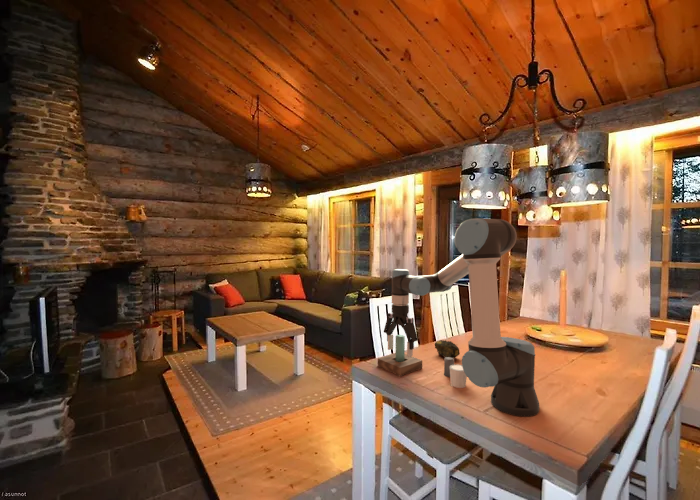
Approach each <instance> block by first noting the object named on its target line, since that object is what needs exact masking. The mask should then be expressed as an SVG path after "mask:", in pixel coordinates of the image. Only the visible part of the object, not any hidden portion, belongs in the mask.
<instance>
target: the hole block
mask: <svg viewBox="0 0 700 500" xmlns="http://www.w3.org/2000/svg"><path fill="white" fill-rule="evenodd" d="M395 355H396V352H395V353H391V354H389V355H385V356H380V357H378V358H377V367H379V368H381V369H383V370H385V371H388V372H390V373H393V374H394V375H397V376H399V377H401V376H404V375H407V374H410V373H412V372H415V371H418V370H422V369H423V359H419V358H417V357H414V356H410V357H407V353H405V359H404V361H403V362H397V361H395Z"/></svg>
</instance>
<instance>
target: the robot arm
mask: <svg viewBox="0 0 700 500" xmlns="http://www.w3.org/2000/svg"><path fill="white" fill-rule="evenodd" d="M516 231H517V230H516V229H515V227H514V225H512V223H511V222H509V221H507V220H505V219H503V218H502V219H501V218H481V217H480V218H479V217H478V218H477V217H476V218H469V219H466V220H464V221H462V222H461V223H460V224H459V226H458V227H457V229H456V231H455V233H454V238H453V239H454V246H455V248H456V249H457V251H458V252H459V253H460V254H461V255H459V256H458V257H456V258H455V259H454V260H453V261H451V262H450V263H449V264H447V265H446V266H445V267H443V268H441V270H439V271H438V272H436V273H434V274H428V275H426V274H425V275H411V274H410V271H409V269H406V268H396V269H393V270H392V272H391V303H392V304H391V312H389V313H387V314H386V315H387V317H386V321H385V325H384V328H383V333H385V334H386V341H387V350H393V349H394V333H393V332H394V330H395V329H396V327H398V326H400V327H401V329H403V331H404V333H405V335H406V336H405V337H406V338H407V340H408V341H407V342H406V343H407V344H406V347H407V348H406V355H407V357H410V356H412V357H414V355H413V354H414V351H413V350H414V349H415V348H414V347H415V345H414V344H415V342H417V341H418V335H417V331H416V327H415V323H414V319H415V318H414V317H409V316H408V315H409V309H410V308H409V307H410V305H409V303H410V296H409V295H410V294H411V295H415V296H423V297H424V296H425V295H427V294H430V293H431V294H432V293H444V292H447V291H450V290H451V289H452V287H453V284H455V283H457V282H458V281H460V280H462V279H463V278H464V277H466V276H467V275H468V281H469V298H470V299H469V301H470V316H471V330H472V331H471V332H472V337H471V338H470V339H469V341H468V342H467V346H468V350H467V351H466V352H465V353H464V354H463V356H462V358H461V365H462V367H463V370H464V372H465V374H466V376H467V378H468V380H469V381H470V382H471V383H472V384H474V385H475V386H477V387H480V388H492V387H493V389H492V392H491V394H490V403H491V405H492V406H493V407H494V408H496V409H497V410H498V411H500V412H502V413H505V414H508V415H511V416H517V417H533V416H536V415H537V414H539V412H540V402H539V398H538V396H537V392H536V390H535V367H536V366H535V362H536V361H535V360H536V352H535V345H534V344H532V342H530V341H527V340H524V339H520V338H514V337H509V336H501V321H500V307H499V306H500V305H499V293H498V289H499V288H498V271H497V263H498V262H499V261H500V260H501V259H502V256H504V255H505V254H507V253H508V252H509V251H511V250H512V248H513V247H514V246H515V244H516V243H517V238H518V237H517V232H516Z"/></svg>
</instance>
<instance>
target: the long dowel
mask: <svg viewBox="0 0 700 500" xmlns="http://www.w3.org/2000/svg"><path fill="white" fill-rule="evenodd" d="M405 337H406V336H405V335H403V334H396V335H395V353H396V355H395V361H397V362H403V361H404V359H405V354H406V353H405V352H406V350H405V346H406V345H405V341H406V340H405V339H406V338H405Z"/></svg>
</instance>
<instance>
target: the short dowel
mask: <svg viewBox="0 0 700 500" xmlns="http://www.w3.org/2000/svg"><path fill="white" fill-rule="evenodd" d="M443 361H444V363H443V365H444V366H443V367H444V368H443V370H444V371H443V373H444V374H443V376H444V377H447V378H450V366H451V365H455V358H451V357H444V360H443Z"/></svg>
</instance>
